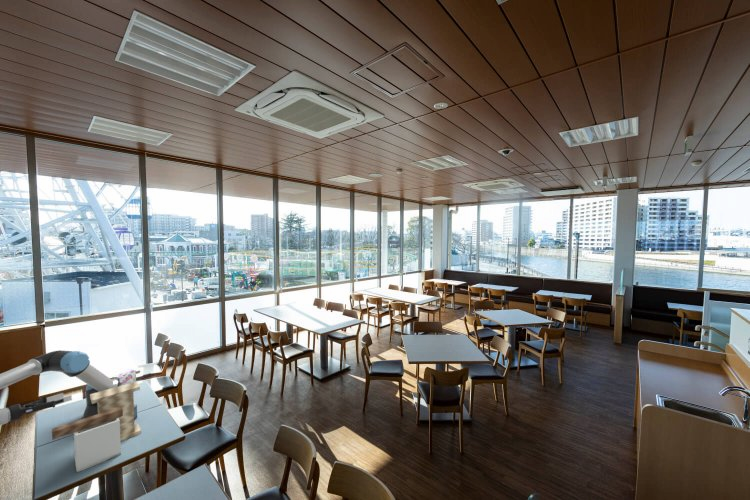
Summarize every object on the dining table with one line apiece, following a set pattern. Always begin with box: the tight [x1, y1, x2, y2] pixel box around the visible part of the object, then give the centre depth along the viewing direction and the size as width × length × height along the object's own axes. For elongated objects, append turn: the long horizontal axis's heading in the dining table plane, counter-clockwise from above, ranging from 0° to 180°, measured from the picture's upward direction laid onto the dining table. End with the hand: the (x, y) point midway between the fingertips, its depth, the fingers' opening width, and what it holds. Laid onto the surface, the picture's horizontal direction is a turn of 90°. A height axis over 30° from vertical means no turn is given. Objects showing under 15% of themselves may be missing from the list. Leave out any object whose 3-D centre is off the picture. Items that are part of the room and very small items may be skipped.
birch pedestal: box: [90, 381, 142, 442], centre depth 186 cm, size 22×10×30 cm, turn 138°
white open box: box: [73, 418, 122, 473], centre depth 170 cm, size 18×12×20 cm, turn 138°
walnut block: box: [51, 407, 123, 440], centre depth 167 cm, size 28×4×4 cm, turn 138°
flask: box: [134, 403, 138, 422], centre depth 205 cm, size 9×3×11 cm, turn 8°
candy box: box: [112, 369, 137, 384], centre depth 239 cm, size 14×6×16 cm, turn 168°
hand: (67, 396), depth 170 cm, fingers open, 13 cm apart
